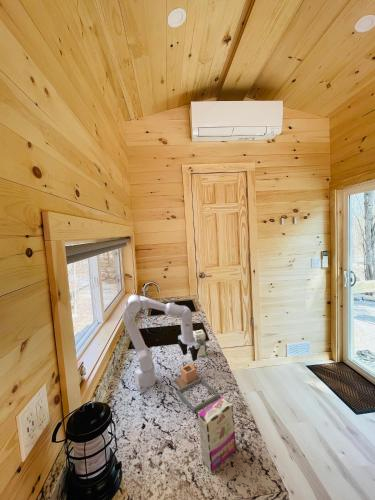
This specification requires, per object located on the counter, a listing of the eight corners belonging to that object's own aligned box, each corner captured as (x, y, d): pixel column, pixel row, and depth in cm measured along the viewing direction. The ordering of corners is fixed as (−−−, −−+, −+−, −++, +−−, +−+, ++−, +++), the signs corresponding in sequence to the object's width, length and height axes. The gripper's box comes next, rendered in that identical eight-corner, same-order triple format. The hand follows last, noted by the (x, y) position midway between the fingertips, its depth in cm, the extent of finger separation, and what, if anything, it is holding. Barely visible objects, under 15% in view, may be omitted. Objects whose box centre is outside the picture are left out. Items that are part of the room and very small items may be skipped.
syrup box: (197, 359, 130) (195, 335, 129) (194, 354, 136) (192, 330, 134) (207, 357, 132) (205, 333, 130) (203, 352, 137) (201, 328, 136)
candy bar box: (225, 439, 81) (222, 395, 79) (236, 450, 76) (233, 404, 75) (200, 460, 74) (197, 413, 72) (211, 473, 70) (207, 423, 68)
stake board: (180, 390, 106) (179, 379, 106) (172, 382, 112) (171, 371, 112) (198, 381, 111) (197, 370, 111) (190, 374, 117) (189, 363, 117)
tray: (193, 415, 92) (193, 409, 92) (176, 395, 103) (176, 390, 103) (219, 399, 99) (219, 394, 99) (201, 382, 110) (201, 378, 110)
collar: (186, 383, 109) (186, 373, 108) (181, 377, 114) (180, 368, 113) (199, 377, 113) (198, 367, 112) (192, 372, 117) (192, 362, 117)
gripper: (203, 332, 111) (205, 359, 113) (184, 324, 123) (187, 348, 124) (191, 338, 107) (194, 365, 108) (173, 329, 118) (176, 354, 120)
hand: (189, 357), depth 116 cm, fingers open, 7 cm apart
